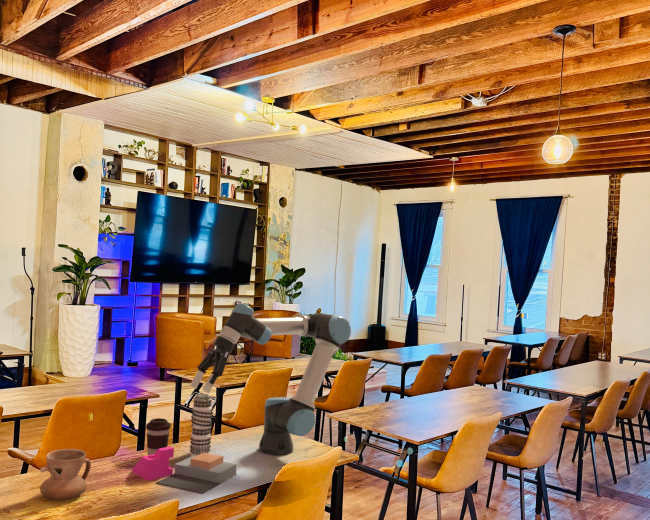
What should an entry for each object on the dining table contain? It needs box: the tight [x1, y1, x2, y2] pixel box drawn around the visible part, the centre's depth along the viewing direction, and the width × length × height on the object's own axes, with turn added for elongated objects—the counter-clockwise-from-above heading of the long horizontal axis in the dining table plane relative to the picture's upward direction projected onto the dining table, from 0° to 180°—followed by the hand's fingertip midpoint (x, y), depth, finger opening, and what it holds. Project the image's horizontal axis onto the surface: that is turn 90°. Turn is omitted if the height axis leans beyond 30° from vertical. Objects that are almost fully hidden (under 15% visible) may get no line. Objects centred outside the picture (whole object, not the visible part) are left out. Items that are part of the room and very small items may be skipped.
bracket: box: [131, 446, 175, 482], centre depth 231 cm, size 12×10×10 cm
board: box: [173, 455, 238, 484], centre depth 232 cm, size 12×20×4 cm, turn 68°
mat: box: [155, 473, 228, 495], centre depth 224 cm, size 16×20×1 cm
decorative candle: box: [189, 393, 214, 457], centre depth 257 cm, size 9×9×25 cm
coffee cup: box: [145, 417, 172, 455], centre depth 251 cm, size 10×10×15 cm
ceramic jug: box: [39, 448, 92, 501], centre depth 205 cm, size 18×14×14 cm
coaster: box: [190, 453, 224, 469], centre depth 233 cm, size 9×9×2 cm
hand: (198, 389), depth 229 cm, fingers open, 13 cm apart
